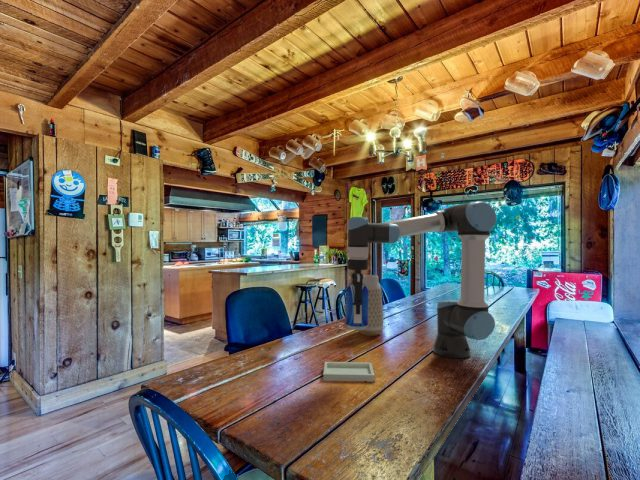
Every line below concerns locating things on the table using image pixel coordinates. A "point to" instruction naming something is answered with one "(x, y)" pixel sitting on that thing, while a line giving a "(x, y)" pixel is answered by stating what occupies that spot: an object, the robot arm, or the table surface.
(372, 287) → the vase
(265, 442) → the table surface
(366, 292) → the beer can
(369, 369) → the tray
